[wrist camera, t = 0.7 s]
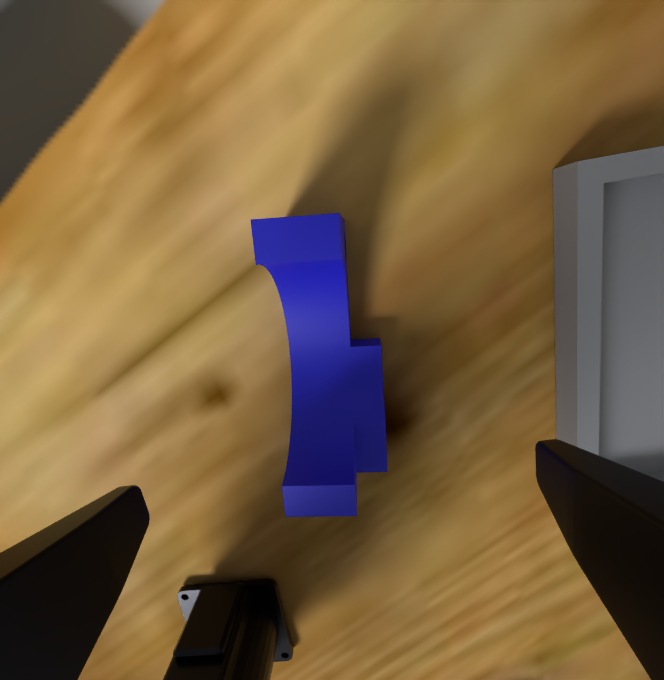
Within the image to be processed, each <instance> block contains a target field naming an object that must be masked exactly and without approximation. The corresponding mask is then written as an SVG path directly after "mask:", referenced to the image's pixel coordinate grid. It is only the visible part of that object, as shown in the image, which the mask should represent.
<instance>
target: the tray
mask: <svg viewBox="0 0 664 680" xmlns="http://www.w3.org/2000/svg"><path fill="white" fill-rule="evenodd" d="M553 225H554V297H555V369H556V439H558V440H561V441H564V442H566V443H569V444H571V445H574V446H576V447H579V448H581V449H584V450H586V451H589V452H591V453H594V454H596V455H599V456H601V457H604V458H606V459H609V460H611V461H614V462H616V463H619V464H621V465H624V466H626V467H629V468H631V469H634V470H636V471H639V472H641V473H644V474H646V475H649V476H651V477H654V478H657V479H659V480H662V481H664V146H660V147H654V148H649V149H643V150H638V151H632V152H626V153H621V154H615V155H610V156H604V157H599V158H593V159H588V160H582V161H577V162H574V163H571V164H568V165H565V166H562V167H558V168H555V169H553Z"/></svg>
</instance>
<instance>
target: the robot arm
mask: <svg viewBox="0 0 664 680" xmlns="http://www.w3.org/2000/svg"><path fill="white" fill-rule="evenodd" d="M535 451H536V477H537V482H538V485H539V487H540V489H541V491H542V493H543V495H544V497H545V500H546V502H547V504H548V506H549V508H550V510H551V512H552V514H553V516H554V518H555V520H556V522H557V524H558V526H559V528H560V530H561V532H562V534H563V536H564V538H565V540H566V542H567V544H568V546H569V548H570V550H571V552H572V554H573V555H574V557H575V559H576V560H577V562H578V564H579V566H580V567H581V569H582V570H583V572H584V574H585V575H586V577H587V578H588V580H589V582H590V583H591V585H592V586H593V588H594V589H595V591H596V593H597V594H598V596H599V597H600V599H601V601H602V602H603V604H604V605H605V607H606V609H607V610H608V612H609V613H610V615H611V617H612V618H613V620H614V621H615V623H616V624H617V626H618V628H619V629H620V631H621V632H622V634H623V636H624V637H625V639H626V640H627V642H628V644H629V645H630V647H631V648H632V650H633V651H634V653H635V655H636V656H637V658H638V659H639V661H640V663H641V664H642V666H643V667H644V669H645V671H646V672H647V674H648V675H649V677H650V678H651V680H664V481H662V480H659V479H657V478H654V477H651V476H649V475H646V474H644V473H641V472H639V471H636V470H634V469H631V468H629V467H626V466H624V465H621V464H619V463H616V462H614V461H611V460H609V459H606V458H604V457H601V456H599V455H596V454H594V453H591V452H589V451H586V450H584V449H581V448H579V447H576V446H574V445H571V444H569V443H566V442H564V441H561V440H558V439H552V440H543V441H538V442H537V444H536V448H535ZM148 525H149V512H148V509H147V506H146V503H145V500H144V497H143V494H142V492H141V489H140V488H139V487H138V486H136V485H131V486H122V487H118V488H116V489H115V490H113V491H111V492H109V493H107V494H106V495H104V496H102V497H100V498H98V499H97V500H95V501H93V502H91V503H89V504H88V505H86V506H84V507H82V508H80V509H79V510H77V511H75V512H73V513H71V514H70V515H68V516H66V517H64V518H62V519H61V520H59V521H57V522H55V523H53V524H52V525H50V526H48V527H46V528H44V529H43V530H41V531H39V532H37V533H35V534H34V535H32V536H30V537H28V538H26V539H25V540H23V541H21V542H19V543H17V544H16V545H14V546H12V547H10V548H8V549H7V550H5V551H3V552H1V553H0V680H78V678H79V676H80V674H81V672H82V670H83V668H84V666H85V664H86V662H87V660H88V658H89V656H90V654H91V652H92V650H93V648H94V646H95V644H96V642H97V640H98V638H99V636H100V634H101V632H102V630H103V628H104V626H105V624H106V622H107V620H108V618H109V616H110V614H111V612H112V610H113V608H114V606H115V604H116V602H117V600H118V598H119V596H120V594H121V592H122V589H123V587H124V585H125V582H126V580H127V577H128V575H129V573H130V570H131V568H132V565H133V563H134V560H135V558H136V555H137V553H138V550H139V548H140V545H141V543H142V540H143V538H144V535H145V533H146V530H147V528H148ZM267 587H268V588H267ZM177 598H178V601H179V604H180V606H181V609H182V612H183V615H184V618H185V621H186V624H185V626H184V628H183V631H182V633H181V635H180V638H179V640H178V642H177V645H176V647H175V649H174V652H173V657H172V660H171V662H170V664H169V667H168V669H167V671H166V674H165V676H164V678H163V680H270V678H271V673H272V667H273V662H278V661H289V660H290V659H291V658H292V656H293V646H292V642H291V638H290V634H289V630H288V626H287V622H286V618H285V615H284V611H283V607H282V603H281V599H280V595H279V591H278V587H277V584H276V582H275V581H274V580H272V579H259V580H247V581H235V582H223V583H210V584H198V585H186V586H183V587H181V589H180V591H179V593H178V595H177Z"/></svg>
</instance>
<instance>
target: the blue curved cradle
mask: <svg viewBox="0 0 664 680" xmlns="http://www.w3.org/2000/svg"><path fill="white" fill-rule="evenodd" d="M251 227H252V236H253V244H254V253H255V261H256V265H258V264H260V265H263V266H264V267H266V268H267V270H268V271H269V272H270V274H271V275H272V277H273V279H274V281H275V283H276V286H277V289H278V291H279V294H280V298H281V301H282V306H283V310H284V314H285V319H286V325H287V332H288V339H289V347H290V358H291V374H292V420H291V435H290V446H289V454H288V461H287V466H286V472H285V476H284V480H283V484H282V491H283V500H284V508H285V517H313V516H357V472H387V448H386V420H385V406H384V390H383V372H382V348H381V341H380V338H373V339H352V340H351V333H350V315H349V297H348V279H347V260H346V242H345V224H344V218H343V217H342V216H341V215H340V214H339V213H335V214H322V215H308V216H294V217H280V218H267V219H253V220H251Z"/></svg>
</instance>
